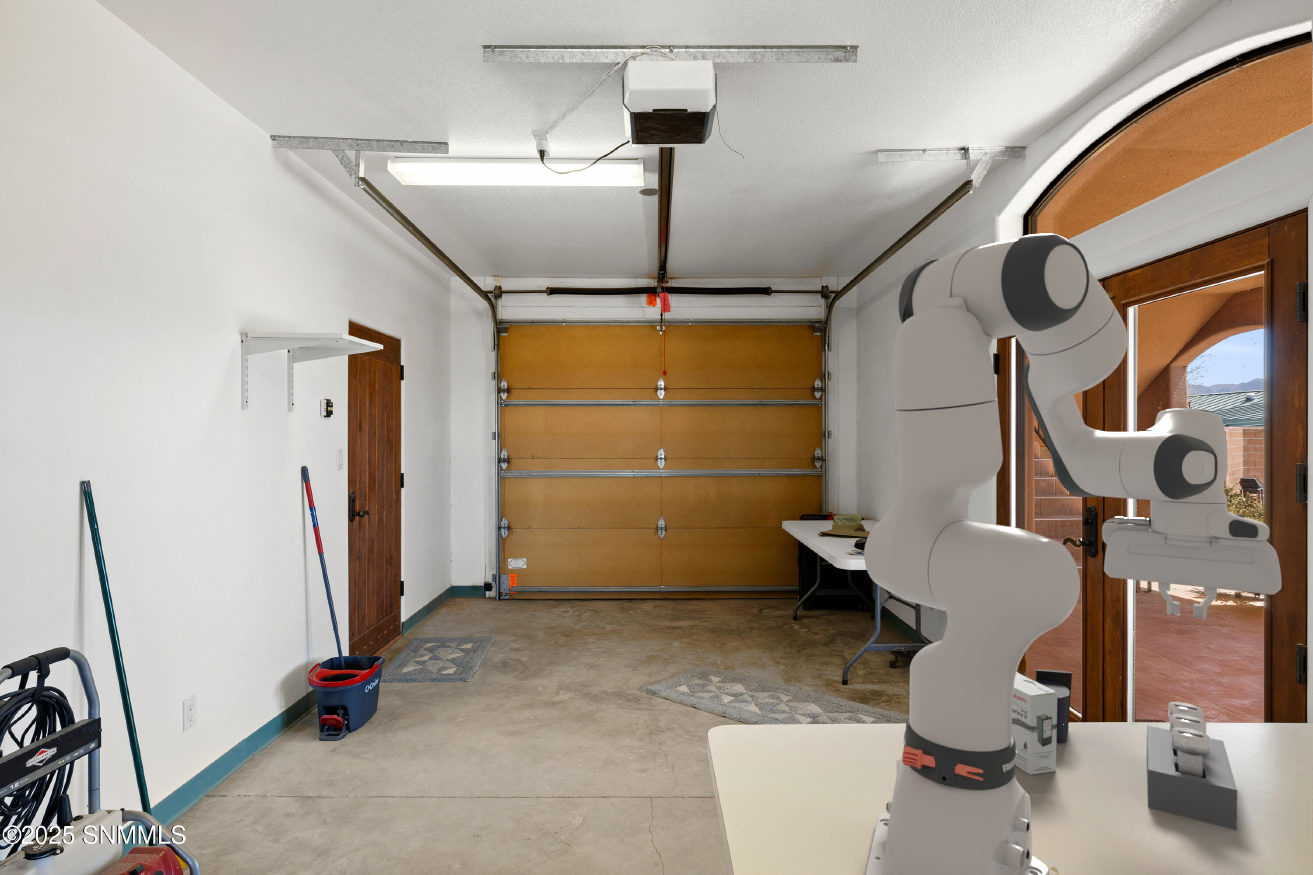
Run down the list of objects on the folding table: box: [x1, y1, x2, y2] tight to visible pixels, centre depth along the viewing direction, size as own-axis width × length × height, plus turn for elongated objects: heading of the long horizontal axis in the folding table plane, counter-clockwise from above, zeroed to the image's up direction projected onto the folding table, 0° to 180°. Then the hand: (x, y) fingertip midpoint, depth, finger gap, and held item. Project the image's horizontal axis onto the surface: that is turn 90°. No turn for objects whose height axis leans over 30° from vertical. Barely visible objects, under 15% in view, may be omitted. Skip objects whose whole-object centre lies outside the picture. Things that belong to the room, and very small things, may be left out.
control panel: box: [1146, 725, 1238, 831], centre depth 95 cm, size 17×9×5 cm, turn 145°
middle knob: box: [1169, 714, 1207, 757], centre depth 95 cm, size 4×4×5 cm
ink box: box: [1012, 672, 1057, 775], centre depth 104 cm, size 9×5×12 cm, turn 14°
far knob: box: [1167, 701, 1204, 721], centre depth 99 cm, size 4×4×5 cm
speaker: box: [1034, 669, 1073, 745], centre depth 112 cm, size 8×6×10 cm
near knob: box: [1171, 728, 1211, 778], centre depth 90 cm, size 4×4×5 cm
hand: (1186, 615), depth 99 cm, fingers closed
